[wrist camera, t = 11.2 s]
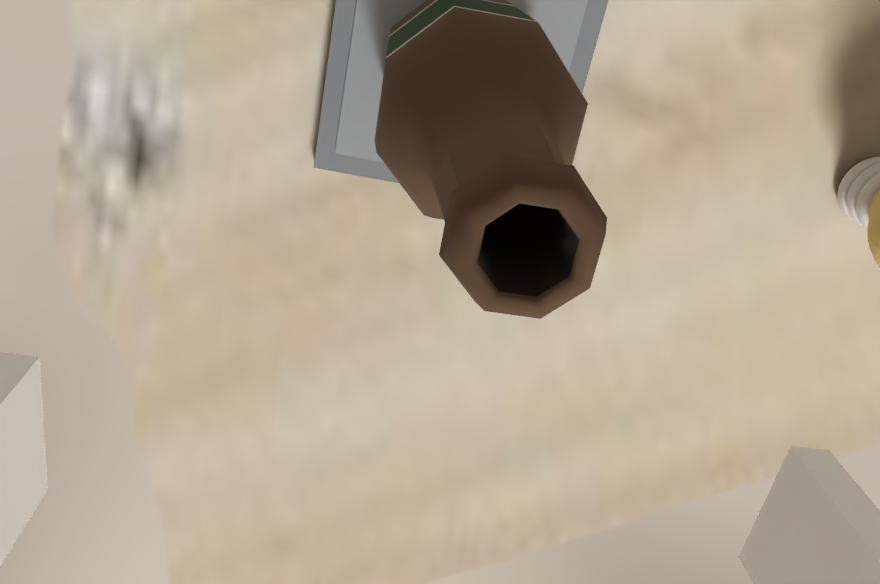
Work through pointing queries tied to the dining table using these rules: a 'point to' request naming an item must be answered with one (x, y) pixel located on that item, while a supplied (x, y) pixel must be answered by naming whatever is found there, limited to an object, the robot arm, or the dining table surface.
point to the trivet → (363, 61)
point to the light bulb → (863, 199)
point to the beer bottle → (491, 152)
